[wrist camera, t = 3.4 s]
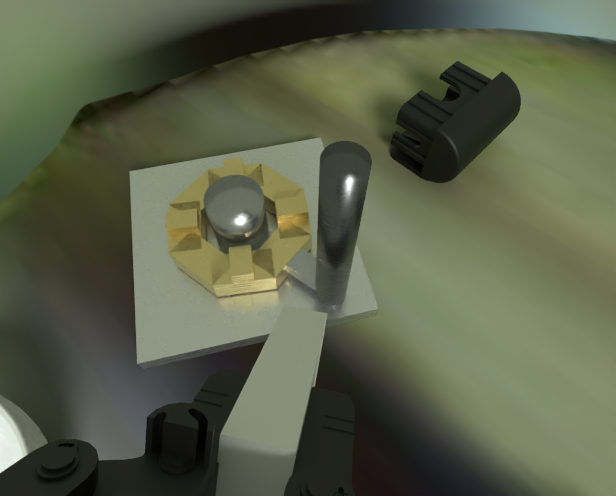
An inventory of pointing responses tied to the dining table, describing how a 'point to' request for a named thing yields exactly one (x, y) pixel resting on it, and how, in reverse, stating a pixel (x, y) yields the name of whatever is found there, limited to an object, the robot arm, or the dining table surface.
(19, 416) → the cereal bowl
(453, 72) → the end cap
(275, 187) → the gold and grey piece
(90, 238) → the dining table surface
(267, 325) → the housing
